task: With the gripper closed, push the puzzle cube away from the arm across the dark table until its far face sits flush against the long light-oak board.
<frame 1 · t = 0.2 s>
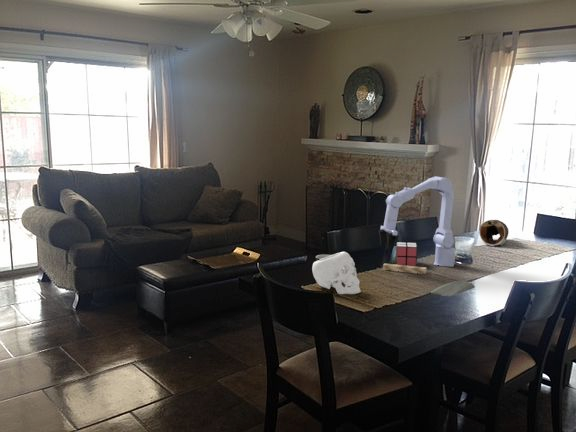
hand: (385, 247, 250), 11 cm above the table, tool pointing down, fingers open, 7 cm apart
skull planter: (336, 289, 219), on the table
coffee mug: (327, 278, 236), on the table
board: (404, 271, 247), on the table
puzzle cube: (405, 264, 260), on the table
stone slab: (452, 291, 219), on the table
clay pot: (496, 243, 309), on the table
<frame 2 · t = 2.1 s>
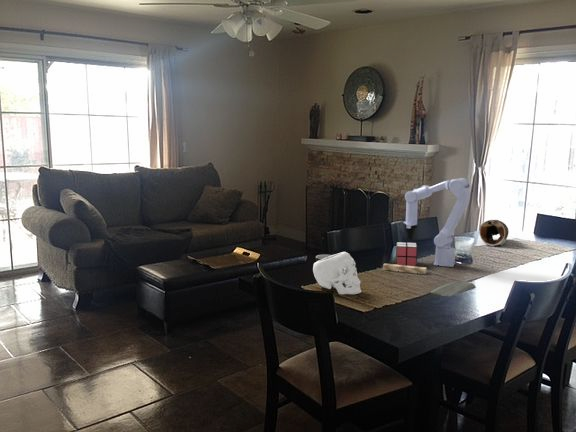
hand: (410, 239, 269), 10 cm above the table, tool pointing down, fingers closed
nothing on the table moved.
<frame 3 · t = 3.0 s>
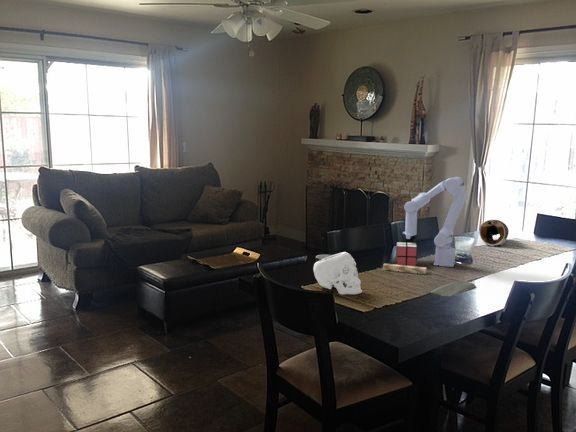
hand: (410, 249, 269), 5 cm above the table, tool pointing down, fingers closed
nothing on the table moved.
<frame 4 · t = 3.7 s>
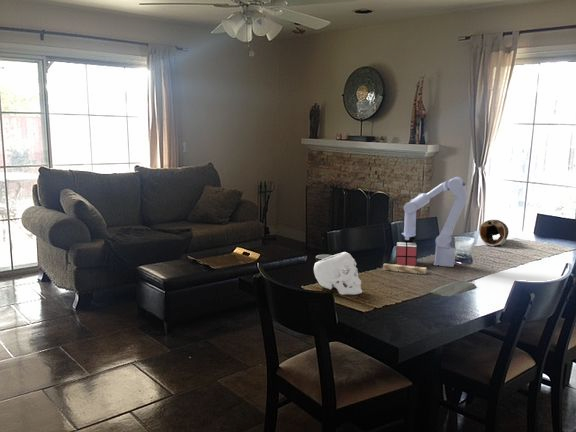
hand: (409, 251, 266), 5 cm above the table, tool pointing down, fingers closed
puzzle cube: (405, 264, 260), on the table, touching gripper
everything else where it was.
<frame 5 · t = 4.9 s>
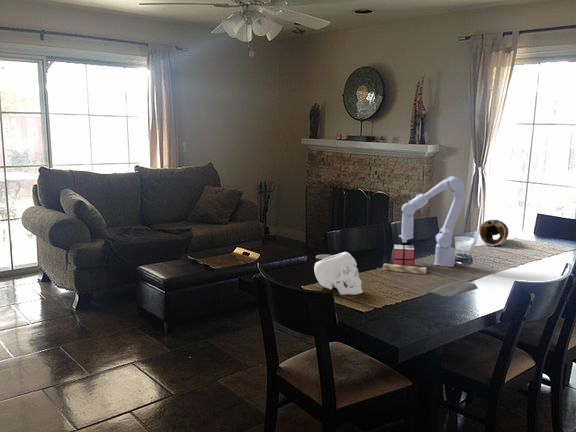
hand: (406, 253, 260), 5 cm above the table, tool pointing down, fingers closed
puzzle cube: (403, 267, 254), on the table, touching gripper
everything else where it was.
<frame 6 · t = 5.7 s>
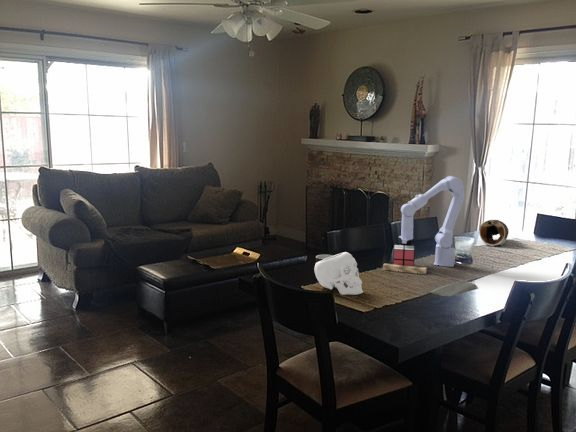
hand: (406, 254, 259), 5 cm above the table, tool pointing down, fingers closed, pressing on puzzle cube
puzzle cube: (403, 267, 254), on the table, touching board, gripper
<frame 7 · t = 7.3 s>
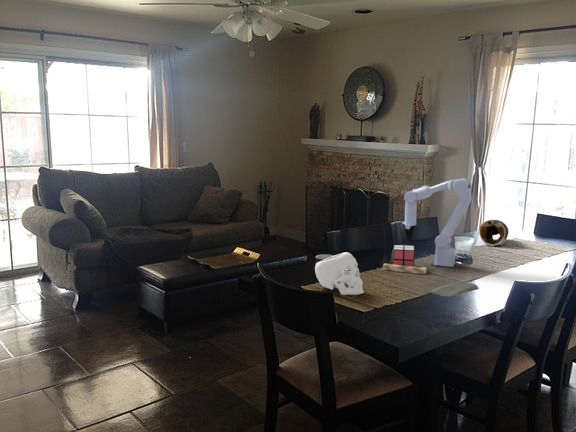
hand: (409, 240, 266), 10 cm above the table, tool pointing down, fingers closed
puzzle cube: (403, 267, 254), on the table
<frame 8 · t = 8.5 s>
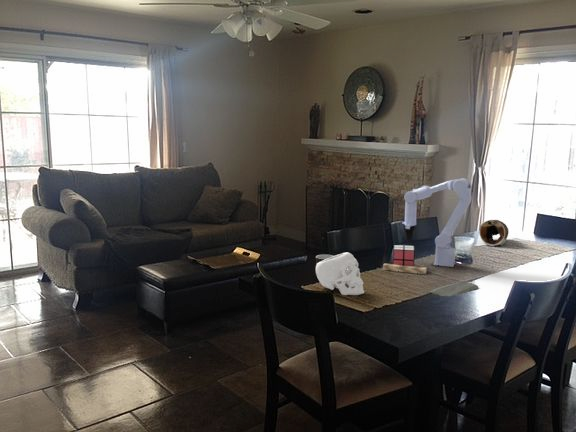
hand: (409, 240, 266), 10 cm above the table, tool pointing down, fingers closed
at the end: puzzle cube inside the target area on the table beside the board (1.2 cm from its centre), on the table; puzzle cube tilted 0° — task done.
